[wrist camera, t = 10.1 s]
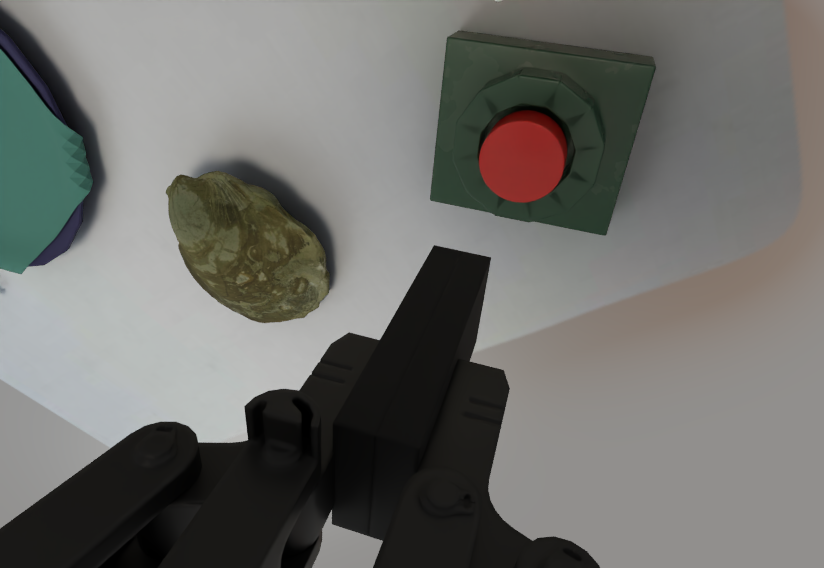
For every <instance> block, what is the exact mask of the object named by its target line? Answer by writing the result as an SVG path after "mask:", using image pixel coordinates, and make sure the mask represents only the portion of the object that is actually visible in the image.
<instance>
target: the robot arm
mask: <svg viewBox="0 0 824 568" xmlns="http://www.w3.org/2000/svg"><path fill="white" fill-rule="evenodd" d="M490 261H491V257H486V256H481V255H477V254H472V253H467V252H463V251H458V250H453V249H449V248H444V247H439V246H435V245H434V246H433V248H432V250H431V252H430V253H429V255H428V257H427V259H426V260H425V262H424V264H423V266H422V267H421V269H420V271H419V273H418V274H417V276H416V278H415V280H414V281H413V283H412V285H411V287H410V288H409V290H408V292H407V294H406V296H405V297H404V299H403V301H402V303H401V304H400V306H399V308H398V310H397V311H396V313H395V315H394V317H393V318H392V320H391V322H390V324H389V325H388V327H387V329H386V331H385V332H384V334H383V336H382V338H381V339H380V340H376V339H372V338H369V337H365V336H361V335H357V334H353V333H348V334H346V335H344V336H343V337H341V338H340V339H338V340H337V341H335V342H333V343H332V344H331V345H330V347H329V348H328V349H327V351H326V352H325V354H324V355H323V357H322V358H321V361H320V362H319V363H318V364H317V366H316V367H315V369H314V370H313V371H312V375H310V376H309V377H308V379H307V380H306V382H305V383H304V385H303V386H302V388H301V389H300V390H299V391H297V390H289V389H279V390H272V391H268V392H265V393H263V394H261V395H259V396H256V397H255V398H253V399H252V400H251V401H250V402H249V403H248V404H247V405H246V406H245V415H246V424H247V433H248V440H247V441H243V442H236V443H198V441H197V436H196V434H195V433H194V432H193V431H192V430H191V429H190V428H189V427H188V426H186V425H183V424H180V423H177V422H158V423H154V424H150V425H147V426H144V427H142V428H140V429H139V430H137V431H135V432H133V433H131V434H130V435H128V436H127V437H126V438H124V439H123V440H122V441H120V442H119V443H117V444H116V445H115V446H113V447H112V448H111V449H109V450H108V451H106V452H105V453H104V454H102V455H101V456H100V457H98V458H97V459H95V460H94V461H93V462H91V463H90V464H89V465H87V466H86V467H84V468H83V469H82V470H80V471H79V472H78V473H76V474H75V475H73V476H72V477H71V478H69V479H68V480H67V481H65V482H64V483H62V484H61V485H60V486H58V487H57V488H56V489H54V490H53V491H51V492H50V493H49V494H47V495H46V496H44V497H43V498H42V499H40V500H39V501H38V502H36V503H35V504H33V505H32V506H31V507H29V508H28V509H27V510H25V511H24V512H22V513H21V514H20V515H18V516H17V517H16V518H14V519H13V520H11V521H10V522H9V523H7V524H6V525H5V526H3V527H2V528H1V529H0V568H312V566H313V564H314V562H315V560H316V557H317V555H318V553H319V551H320V547H321V542H322V528H323V526H324V524H325V522H326V520H327V518H328V516H329V513H330V512H331V510H332V524H333V525H336V526H339V527H342V528H345V529H348V530H352V531H355V532H358V533H361V534H364V535H367V536H370V537H373V538H376V539H379V540H382V541H383V543H382V545H381V548H380V551H379V554H378V556H377V559H376V561H375V564H374V566H373V568H600V567H599V565H598V564H597V563H596V561H595V560H594V559H593V558H592V557H591V556H590V555H589V553H587V551H585V550H584V549H582V548H581V547H579V546H578V545H576V544H574V543H573V542H571V541H568V540H565V539H561V538H557V537H544V538H537V539H536V540H534V541H532V540H530V539H529V538H527V537H526V536H524V535H523V534H521V533H520V532H518V531H517V530H515V529H514V528H512V527H511V526H510V525H509V524H507V523H506V522H505V521H504V520H503V519H502V518H501V517H500V516H499V514H498V513H497V512H496V511H495V509H494V507H493V505H492V503H491V501H490V496H489V492H488V485H489V477H490V473H491V468H492V464H493V460H494V455H495V451H496V446H497V442H498V438H499V433H500V429H501V424H502V420H503V415H504V411H505V407H506V402H507V398H508V393H509V389H510V388H509V385H508V382H507V379H506V376H505V373H504V370H501V369H497V368H493V367H489V366H485V365H481V364H477V363H473V362H469V361H470V358H471V355H472V352H473V349H474V346H475V343H476V339H477V334H478V328H479V322H480V317H481V311H482V306H483V300H484V294H485V289H486V283H487V278H488V272H489V266H490Z"/></svg>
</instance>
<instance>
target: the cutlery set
mask: <svg viewBox="0 0 824 568" xmlns="http://www.w3.org/2000/svg"><path fill="white" fill-rule="evenodd" d="M92 184H93V179H92V176H91V174H90V167H89V165H88V162H87V159H86V151H85V147H84V144H83V137H82V136H80V135H79V134H77V133H76V132H74V131H73V130H71V129H70V128H69V127H68V126H67V124H66V122H65V120H64V118H63V116H62V114H61V112H60V110H59V108H58V106H57V104H56V102H55V100H54V98H53V96H52V94H51V92H50V90H49V88H48V86H47V85H46V84H45V82H44V81H43V80H42V78H41V77H40V76H39V74H38V73H37V72H36V70H35V69H34V68H33V66H32V65H31V64H30V63H29V61H28V60H27V59H26V57H25V56H24V55H23V53H22V52H21V51H20V49H19V48H18V47H17V45H16V44H15V43H14V42H13V40H12V39H11V38H10V37H9V36H8V35H7V34H6V33H5V32H4V31H3V30H1V29H0V269H4V270H7V271H11V272H15V273H19V274H22V273H23V271H24V270H25V269H26V268H27V267H28V266H39V265H45V264H47V263H48V262H50V261H51V260H53V259H54V258H56V257H57V256H59V255H61V254H62V253H64V252H65V251H67V250H68V249H69V248H70V246H71V244H72V242H73V240H74V238H75V236H76V234H77V232H78V230H79V228H80V226H81V224H82V222H83V202H84V198H85V197H86V196H87V195H88V193H89V192H90V190H91V187H92Z"/></svg>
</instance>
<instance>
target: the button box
mask: <svg viewBox="0 0 824 568" xmlns="http://www.w3.org/2000/svg"><path fill="white" fill-rule="evenodd" d="M655 69H656V66H655V62H654V59H653V57H650V56H642V55H635V54H628V53H620V52H613V51H606V50H598V49H591V48H584V47H576V46H569V45H562V44H555V43H547V42H540V41H533V40H525V39H518V38H511V37H503V36H496V35H489V34H481V33H474V32H467V31H457V32H455V33H454V34H452V35H450V36H449V37H448V38H447V43H446V52H445V62H444V71H443V81H442V90H441V100H440V109H439V119H438V128H437V138H436V147H435V157H434V166H433V176H432V185H431V195H430V200H431V201H435V202H440V203H445V204H450V205H455V206H460V207H465V208H470V209H475V210H480V211H485V212H490V213H492V214H495V216H500V217H505V218H510V219H515V220H520V221H525V222H534V221H535V222H540V223H545V224H549V225H554V226H559V227H564V228H569V229H574V230H579V231H584V232H589V233H594V234H599V235H606V234H607V231H608V227H609V224H610V221H611V217H612V214H613V211H614V207H615V204H616V200H617V197H618V194H619V190H620V187H621V184H622V180H623V177H624V173H625V170H626V167H627V163H628V160H629V157H630V153H631V150H632V147H633V143H634V140H635V136H636V133H637V130H638V126H639V123H640V120H641V116H642V113H643V109H644V106H645V103H646V99H647V96H648V93H649V89H650V86H651V83H652V79H653V76H654V72H655ZM522 110H531V111H537V112H540V113H543V114H545V115H547V116H549V117H550V118H552V119H553V120H554V121H555V122H556V123H557V124H558V125H559V126H560V127H561V129H562V131H563V132H564V135H565V137H566V141H567V158H566V163H565V167H564V171H563V174H562V177H561V179H560V181H559V183H558V184H557V186H556V187H555V188H554V189H553V190H552V191H551V192H550V193H549V194H547V195H546V196H544V197H542V198H540V199H538V200H535V201H531V202H513V201H509V200H506V199H503V198H502V197H500V196H498V195H497V194H495V193H494V192H493V191H492V190H491V189H490V188H489V187H488V186H487V184H486V183H485V181H484V180H483V177H482V175H481V172H480V167H479V155H480V150H481V147H482V145H483V143H484V141H485V139H486V138H487V136H488V135H489V133H490V131H491V130H492V128H493V127H494V126H495V125H496V123H497V122H498V121H500V120H501V119H502V118H503V117H505V116H507V115H509V114H511V113H513V112H517V111H522Z"/></svg>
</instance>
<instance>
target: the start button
mask: <svg viewBox="0 0 824 568" xmlns="http://www.w3.org/2000/svg"><path fill="white" fill-rule="evenodd" d="M566 158H567V141H566V137H565V135H564V132H563V131H562V129H561V127H560V126H559V125H558V124H557V123H556V122H555V121H554V120H553V119H552V118H550V117H549V116H547V115H545V114H543V113H540V112H537V111H531V110H522V111H517V112H513V113H511V114H509V115H507V116H505V117H503V118H502V119H501V120H500V121H498V122H497V123H496V125H495V126H494V127H493V128H492V130H491V131H490V133H489V135H488V136H487V138H486V139H485V141H484V143H483V145H482V147H481V150H480V155H479V167H480V172H481V175H482V177H483V180H484V181H485V183H486V184H487V186H488V187H489V188H490V189H491V190H492V191H493V192H494V193H495V194H497V195H498V196H500V197H502V198H503V199H506V200H509V201H513V202H531V201H535V200H538V199H540V198H542V197H544V196H546V195H547V194H549V193H550V192H551V191H552V190H553V189H554V188H555V187H556V186H557V184H558V183H559V181H560V179H561V177H562V174H563V171H564V167H565V163H566Z"/></svg>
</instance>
